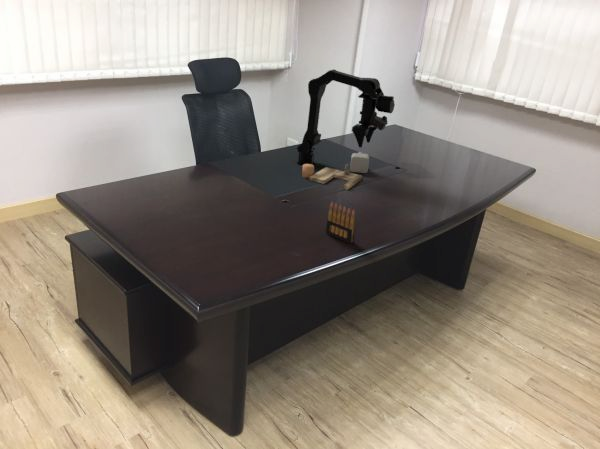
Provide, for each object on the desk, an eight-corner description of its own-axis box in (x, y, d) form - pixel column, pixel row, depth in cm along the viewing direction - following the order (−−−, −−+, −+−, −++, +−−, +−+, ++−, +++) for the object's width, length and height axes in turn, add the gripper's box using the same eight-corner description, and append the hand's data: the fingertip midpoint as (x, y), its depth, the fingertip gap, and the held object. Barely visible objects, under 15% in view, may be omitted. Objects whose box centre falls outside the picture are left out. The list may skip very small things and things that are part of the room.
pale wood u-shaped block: (309, 180, 216) (310, 167, 214) (325, 170, 229) (326, 157, 227) (347, 189, 209) (348, 176, 206) (361, 178, 222) (363, 166, 219)
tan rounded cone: (300, 176, 220) (300, 166, 218) (305, 173, 224) (306, 163, 222) (310, 179, 218) (310, 168, 216) (315, 176, 222) (316, 165, 220)
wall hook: (367, 164, 238) (369, 146, 232) (367, 176, 230) (369, 158, 224) (350, 163, 239) (352, 145, 233) (349, 175, 231) (351, 156, 225)
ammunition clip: (325, 233, 172) (328, 201, 167) (328, 231, 173) (331, 199, 168) (350, 243, 166) (354, 211, 160) (353, 242, 167) (357, 209, 162)
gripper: (378, 116, 201) (373, 153, 208) (393, 108, 216) (388, 143, 223) (353, 112, 205) (349, 148, 212) (369, 104, 220) (365, 138, 227)
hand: (364, 144), depth 219 cm, fingers open, 9 cm apart
